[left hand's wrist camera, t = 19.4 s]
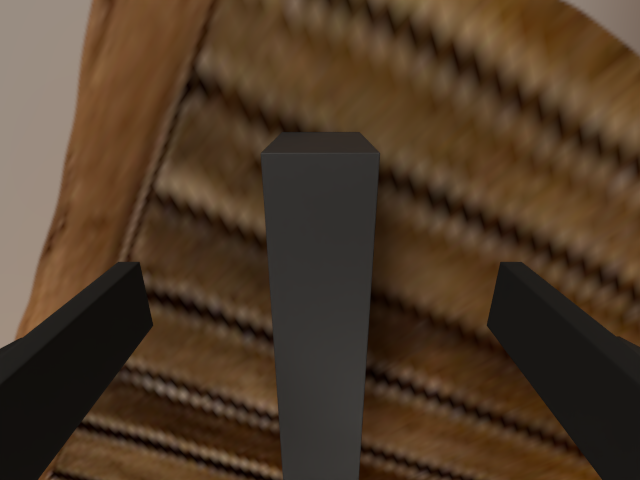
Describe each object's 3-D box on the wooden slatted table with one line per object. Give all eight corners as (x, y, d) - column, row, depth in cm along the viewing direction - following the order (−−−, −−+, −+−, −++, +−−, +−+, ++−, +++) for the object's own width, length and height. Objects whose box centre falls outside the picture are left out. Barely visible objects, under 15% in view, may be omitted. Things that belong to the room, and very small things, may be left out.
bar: (281, 132, 22) (260, 152, 14) (359, 132, 22) (380, 152, 14) (293, 389, 31) (283, 488, 23) (349, 390, 31) (358, 488, 23)
